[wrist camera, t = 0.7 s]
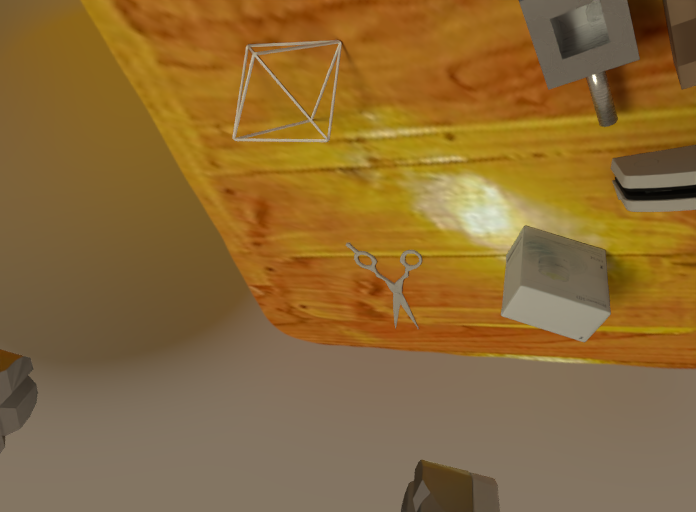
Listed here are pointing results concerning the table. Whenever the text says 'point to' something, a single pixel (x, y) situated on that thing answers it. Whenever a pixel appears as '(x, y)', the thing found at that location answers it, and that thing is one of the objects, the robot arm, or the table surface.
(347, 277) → the table surface
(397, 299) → the scissors
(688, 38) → the brown square ring block
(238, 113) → the geometric polyhedron
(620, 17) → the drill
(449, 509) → the robot arm
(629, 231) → the table surface
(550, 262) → the skincare box
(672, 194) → the grey curved-top slotted block
